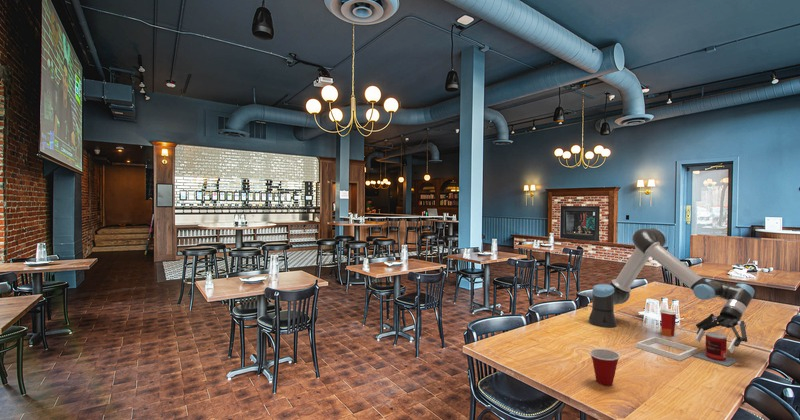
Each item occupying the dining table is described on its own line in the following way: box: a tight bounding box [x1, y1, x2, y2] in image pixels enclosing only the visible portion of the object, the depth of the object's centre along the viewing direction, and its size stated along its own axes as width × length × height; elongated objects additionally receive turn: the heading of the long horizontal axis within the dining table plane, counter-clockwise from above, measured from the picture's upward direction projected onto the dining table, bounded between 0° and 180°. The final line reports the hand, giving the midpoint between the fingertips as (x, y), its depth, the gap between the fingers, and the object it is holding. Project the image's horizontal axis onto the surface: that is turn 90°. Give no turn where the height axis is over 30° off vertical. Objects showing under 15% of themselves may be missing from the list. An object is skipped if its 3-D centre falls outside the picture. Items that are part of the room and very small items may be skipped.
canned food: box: [704, 331, 728, 361], centre depth 178 cm, size 8×8×11 cm
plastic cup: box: [589, 348, 621, 387], centre depth 151 cm, size 11×11×12 cm
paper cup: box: [660, 308, 678, 337], centre depth 212 cm, size 8×8×14 cm
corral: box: [636, 336, 698, 362], centre depth 188 cm, size 19×19×2 cm
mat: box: [692, 350, 739, 368], centre depth 178 cm, size 13×13×1 cm
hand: (713, 345), depth 177 cm, fingers open, 13 cm apart
